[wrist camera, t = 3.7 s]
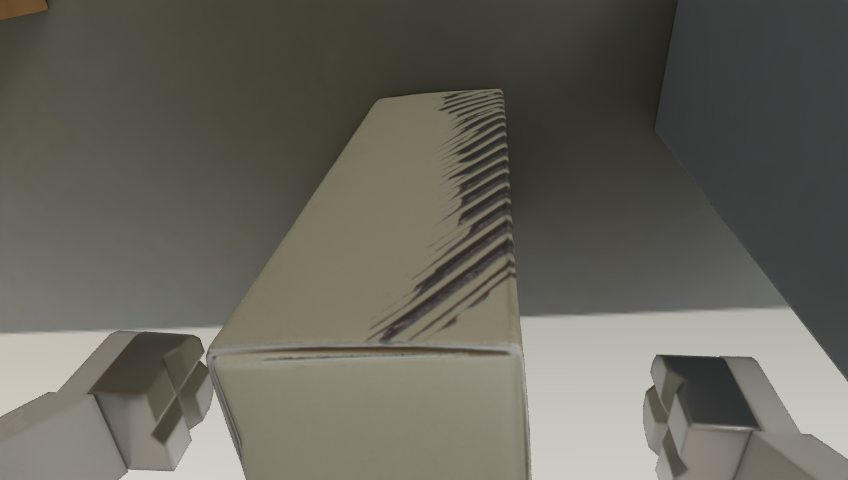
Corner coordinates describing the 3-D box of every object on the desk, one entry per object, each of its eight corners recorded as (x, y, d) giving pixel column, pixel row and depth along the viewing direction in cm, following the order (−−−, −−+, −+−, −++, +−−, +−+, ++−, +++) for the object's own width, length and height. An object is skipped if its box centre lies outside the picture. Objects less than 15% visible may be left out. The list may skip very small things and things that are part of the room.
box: (509, 223, 20) (539, 600, 9) (390, 229, 21) (281, 590, 10) (504, 75, 18) (536, 351, 7) (367, 87, 18) (183, 358, 7)
